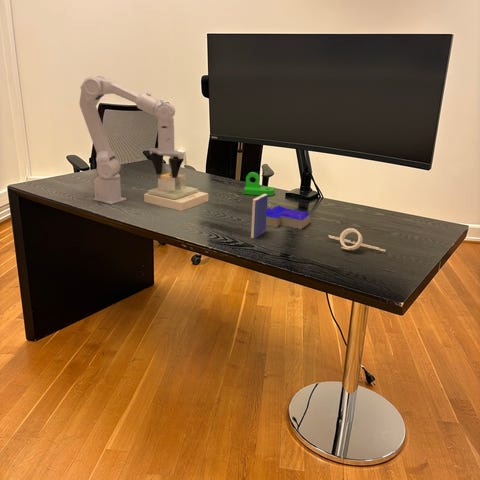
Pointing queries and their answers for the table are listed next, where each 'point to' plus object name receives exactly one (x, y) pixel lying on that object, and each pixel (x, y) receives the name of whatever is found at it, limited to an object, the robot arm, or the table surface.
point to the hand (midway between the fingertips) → (166, 175)
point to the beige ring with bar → (353, 241)
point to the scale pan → (174, 194)
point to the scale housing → (177, 200)
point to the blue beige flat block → (287, 217)
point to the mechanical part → (256, 186)
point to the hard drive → (259, 215)
